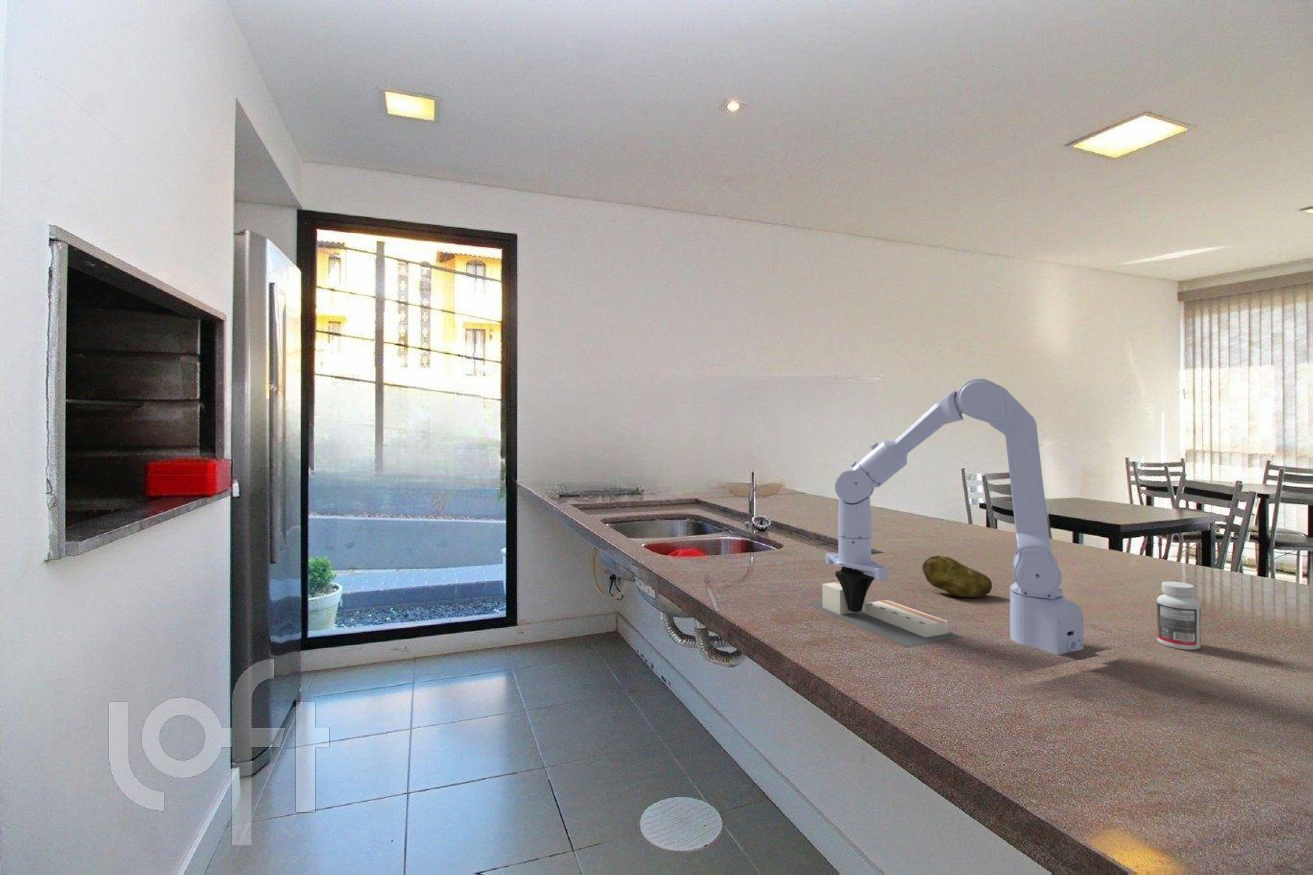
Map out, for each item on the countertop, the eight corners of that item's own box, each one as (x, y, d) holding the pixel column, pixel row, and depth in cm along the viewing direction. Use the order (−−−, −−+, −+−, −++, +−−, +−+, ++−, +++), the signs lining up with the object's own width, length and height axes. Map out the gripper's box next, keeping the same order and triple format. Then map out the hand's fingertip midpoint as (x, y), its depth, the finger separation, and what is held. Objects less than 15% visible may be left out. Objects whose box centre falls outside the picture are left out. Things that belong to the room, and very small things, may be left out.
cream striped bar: (948, 633, 101) (948, 620, 101) (925, 637, 99) (925, 624, 99) (886, 610, 114) (886, 599, 114) (865, 613, 112) (865, 602, 112)
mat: (962, 643, 99) (962, 636, 99) (906, 654, 95) (906, 646, 95) (855, 602, 124) (855, 596, 124) (805, 609, 119) (805, 603, 119)
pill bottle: (1165, 636, 102) (1165, 578, 102) (1206, 646, 97) (1206, 585, 97) (1150, 642, 99) (1150, 582, 99) (1191, 653, 94) (1191, 590, 94)
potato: (987, 604, 121) (987, 564, 121) (919, 594, 129) (918, 557, 129) (993, 595, 128) (993, 557, 128) (928, 586, 136) (927, 550, 136)
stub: (857, 611, 113) (857, 587, 113) (839, 614, 112) (839, 589, 112) (839, 604, 118) (839, 581, 118) (822, 607, 116) (822, 583, 116)
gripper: (811, 531, 116) (812, 602, 116) (864, 544, 103) (865, 624, 103) (842, 529, 119) (842, 598, 119) (897, 541, 105) (897, 619, 105)
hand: (855, 610), depth 111 cm, fingers closed
